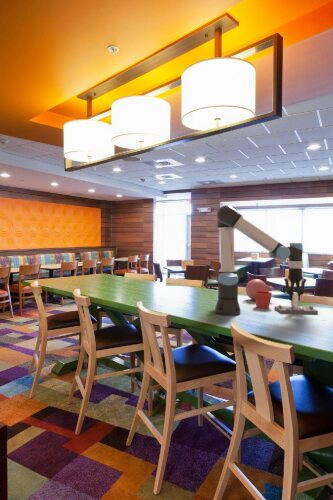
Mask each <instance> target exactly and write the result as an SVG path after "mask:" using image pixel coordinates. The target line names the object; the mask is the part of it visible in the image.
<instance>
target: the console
mask: <svg viewBox="0 0 333 500" xmlns="http://www.w3.org/2000/svg"><path fill="white" fill-rule="evenodd" d="M291 307H292V306H291V305H290V306H289V305H283V306H282V305H281V304H278V306H277V305H275V306H274V310H275V311H277V312H278V313H280V314H283V315H284V314H289V315H291V314H292V315H298V314H299V315H319V310H317V309H315V308H314V306H312V305H309V306H297V308H298V309H297V308H295V307H293V308H291Z"/></svg>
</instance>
